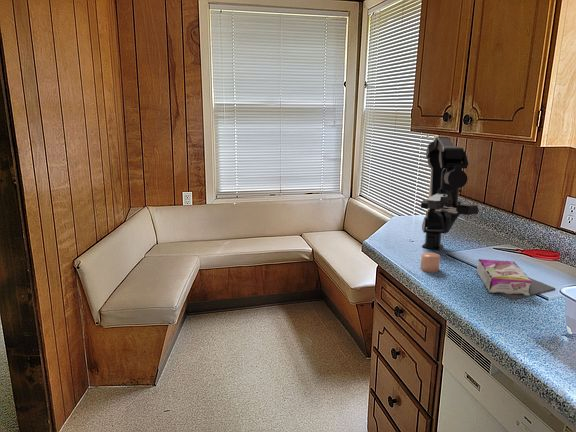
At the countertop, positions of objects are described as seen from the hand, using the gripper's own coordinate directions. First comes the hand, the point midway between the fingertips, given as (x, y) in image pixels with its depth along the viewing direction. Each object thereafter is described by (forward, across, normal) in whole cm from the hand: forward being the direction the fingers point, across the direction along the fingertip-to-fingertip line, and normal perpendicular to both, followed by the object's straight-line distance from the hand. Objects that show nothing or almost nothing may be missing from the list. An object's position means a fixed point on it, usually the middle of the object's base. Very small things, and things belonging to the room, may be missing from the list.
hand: (446, 232), depth 140 cm
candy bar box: (+10, +12, +10) cm, 18 cm away
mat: (+14, +22, +7) cm, 27 cm away
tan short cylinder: (+13, -3, -4) cm, 14 cm away
